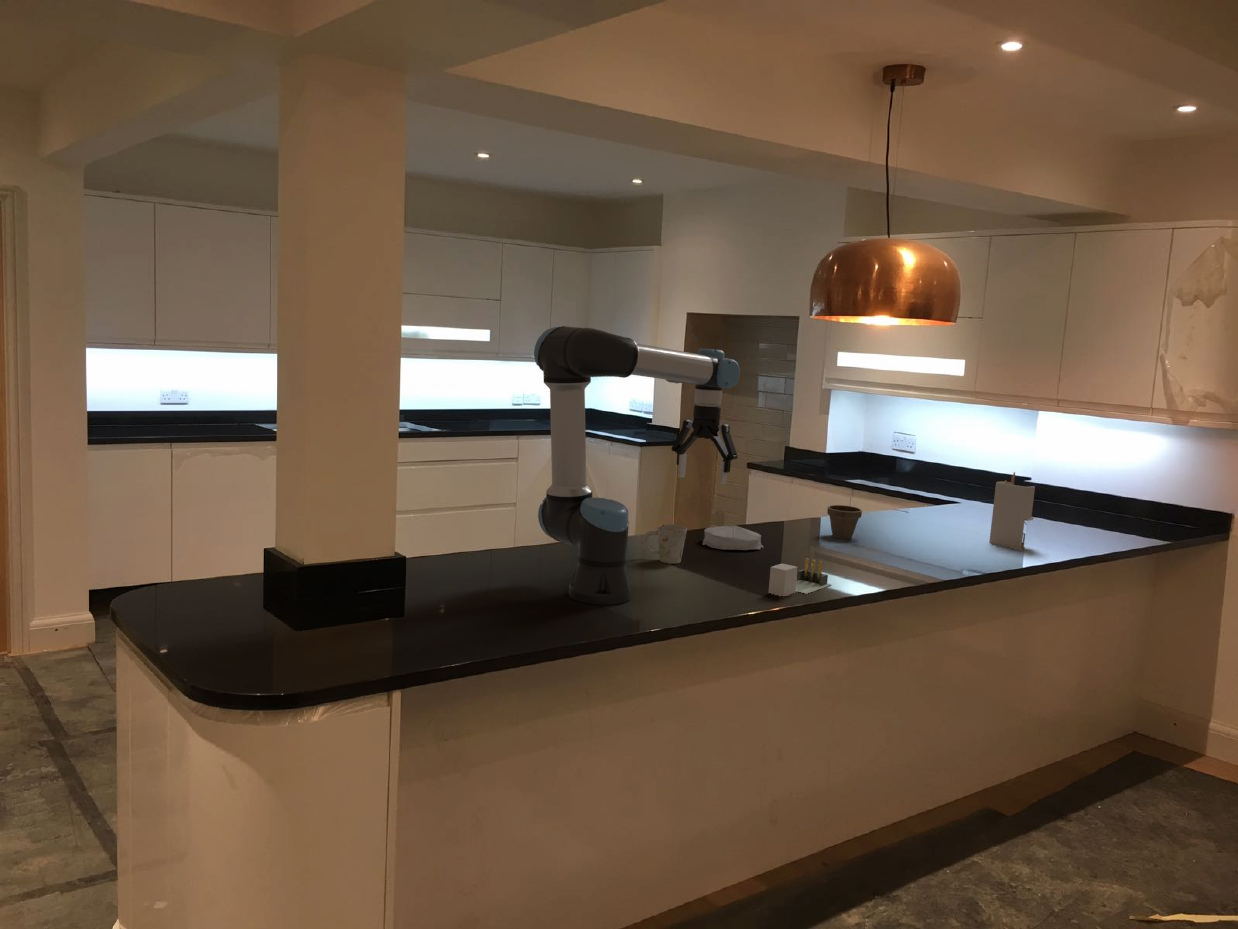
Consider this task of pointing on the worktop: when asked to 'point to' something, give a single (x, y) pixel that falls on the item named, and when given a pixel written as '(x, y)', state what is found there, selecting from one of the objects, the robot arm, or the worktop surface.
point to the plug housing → (782, 579)
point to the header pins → (812, 571)
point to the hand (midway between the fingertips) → (701, 480)
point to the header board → (810, 586)
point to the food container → (732, 538)
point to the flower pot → (843, 520)
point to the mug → (668, 542)
